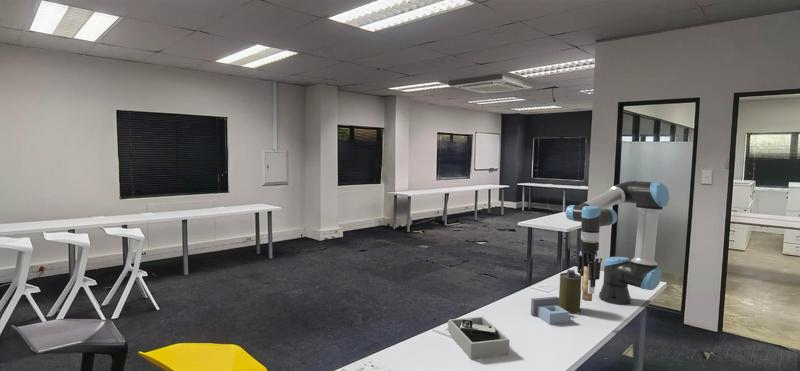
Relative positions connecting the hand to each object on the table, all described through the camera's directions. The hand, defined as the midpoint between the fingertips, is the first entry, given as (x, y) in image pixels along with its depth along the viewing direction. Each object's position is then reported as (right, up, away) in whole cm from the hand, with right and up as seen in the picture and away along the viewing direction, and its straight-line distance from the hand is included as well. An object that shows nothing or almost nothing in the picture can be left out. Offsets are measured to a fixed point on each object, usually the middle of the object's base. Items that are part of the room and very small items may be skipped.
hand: (587, 291), depth 186 cm
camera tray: (-53, -16, -18) cm, 59 cm away
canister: (0, -15, +21) cm, 25 cm away
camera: (-53, -16, -18) cm, 59 cm away
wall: (-14, -15, +14) cm, 25 cm away
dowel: (0, -4, 0) cm, 4 cm away
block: (-13, -15, +8) cm, 21 cm away
